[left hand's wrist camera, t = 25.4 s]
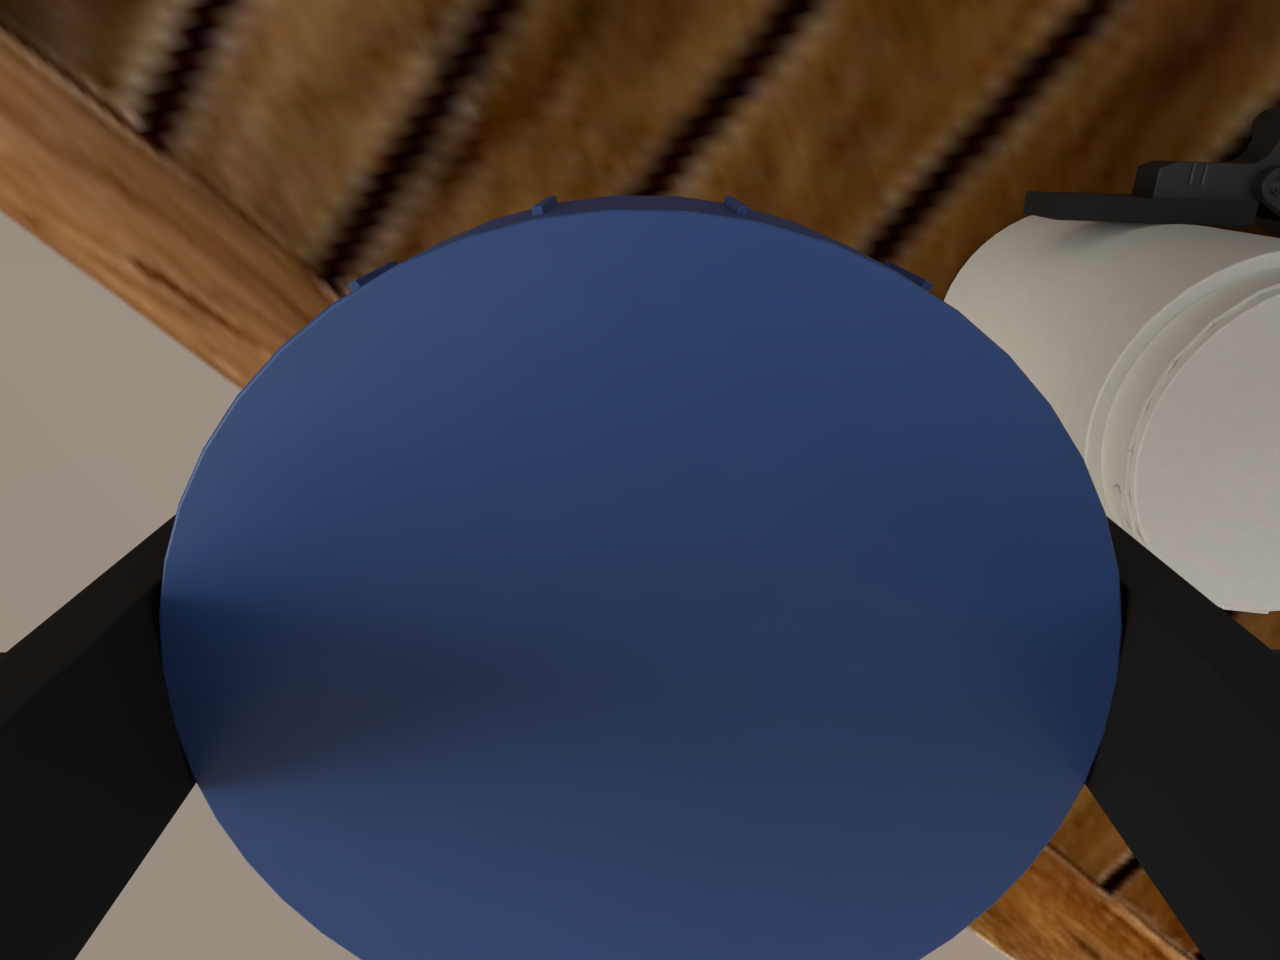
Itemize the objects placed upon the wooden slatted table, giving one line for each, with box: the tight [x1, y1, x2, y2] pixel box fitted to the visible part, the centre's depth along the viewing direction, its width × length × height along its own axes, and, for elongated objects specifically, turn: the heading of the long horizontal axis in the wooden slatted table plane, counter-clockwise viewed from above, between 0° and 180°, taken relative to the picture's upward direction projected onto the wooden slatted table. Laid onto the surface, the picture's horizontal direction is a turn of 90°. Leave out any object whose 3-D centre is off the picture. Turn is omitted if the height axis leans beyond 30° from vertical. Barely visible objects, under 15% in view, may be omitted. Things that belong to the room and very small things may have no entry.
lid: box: [159, 196, 1123, 960], centre depth 11 cm, size 11×11×2 cm
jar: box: [944, 215, 1280, 614], centre depth 31 cm, size 10×10×16 cm
